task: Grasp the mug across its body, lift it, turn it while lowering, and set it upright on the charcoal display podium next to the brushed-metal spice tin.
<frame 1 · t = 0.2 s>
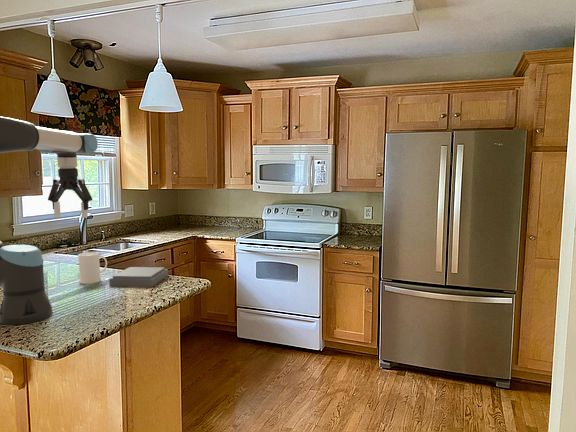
hand: (71, 217, 192), 27 cm above the counter, fingers open, 13 cm apart
spice tin: (85, 272, 207), on the counter
podium: (140, 280, 191), on the counter
mug: (94, 281, 192), on the counter
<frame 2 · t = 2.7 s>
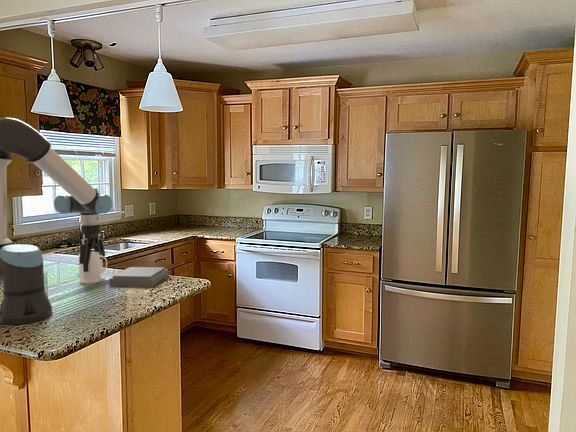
hand: (93, 276, 191), 2 cm above the counter, fingers closed on mug, 9 cm apart
mug: (94, 280, 192), on the counter, touching gripper
everything else where it was.
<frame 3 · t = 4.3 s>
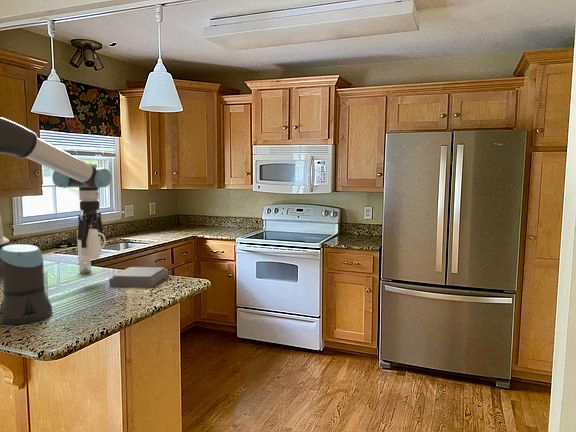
hand: (91, 253, 190), 12 cm above the counter, fingers closed on mug, 9 cm apart
mug: (92, 258, 191), point 10 cm above the counter, touching gripper
everything else where it was.
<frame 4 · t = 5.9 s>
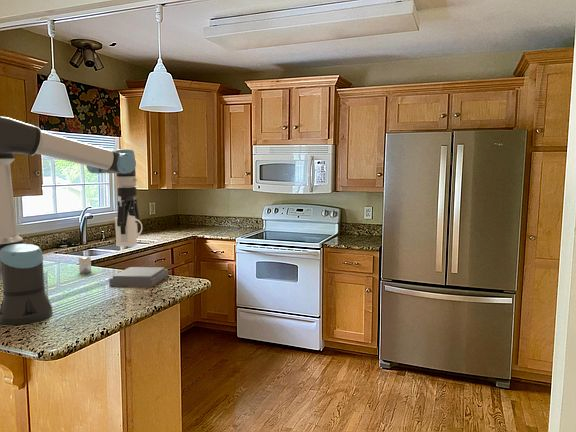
hand: (129, 239, 189), 18 cm above the counter, fingers closed on mug, 9 cm apart
mug: (130, 244, 190), point 15 cm above the counter, touching gripper
everything else where it was.
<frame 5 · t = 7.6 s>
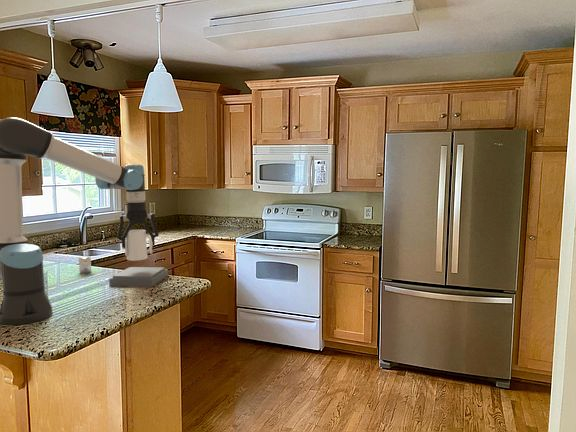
hand: (138, 254, 189), 11 cm above the counter, fingers closed on mug, 9 cm apart
mug: (140, 259, 190), point 9 cm above the counter, touching gripper
everything else where it was.
when the fingers open (7 cm above the counter, at t = 8.9 s): mug drops 1 cm, resting on podium.
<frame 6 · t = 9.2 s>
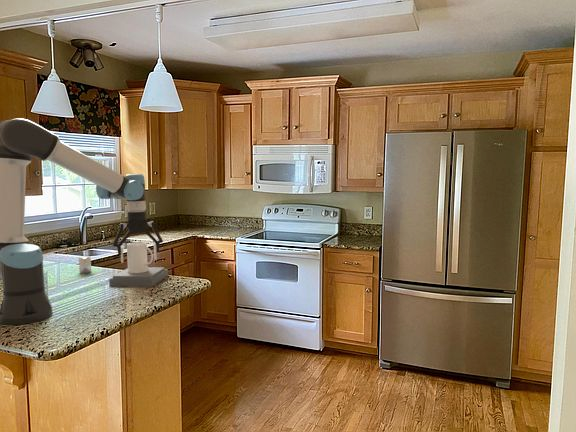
hand: (139, 260, 190), 9 cm above the counter, fingers open, 13 cm apart
mug: (141, 271, 190), point 4 cm above the counter, touching podium
everything else where it was.
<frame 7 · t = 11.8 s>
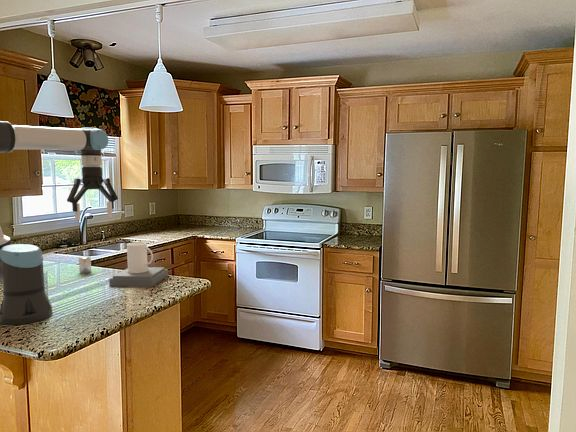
hand: (94, 218, 184), 27 cm above the counter, fingers open, 13 cm apart
nothing on the counter moved.
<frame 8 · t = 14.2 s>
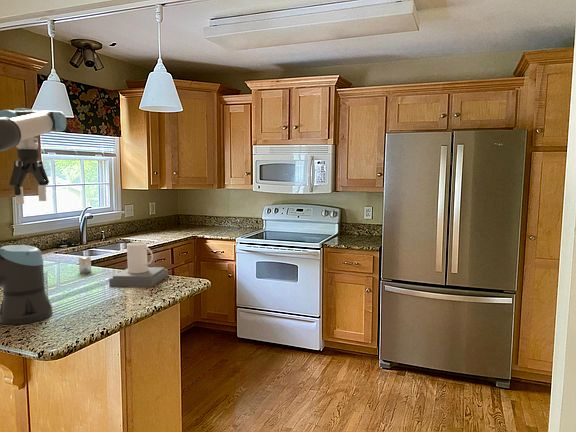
hand: (31, 202, 178), 35 cm above the counter, fingers open, 13 cm apart
nothing on the counter moved.
at the end: mug inside the target area on the podium (0.5 cm from its centre), point 3.8 cm above the podium's base; mug tilted 0°; the gripper is holding nothing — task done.
